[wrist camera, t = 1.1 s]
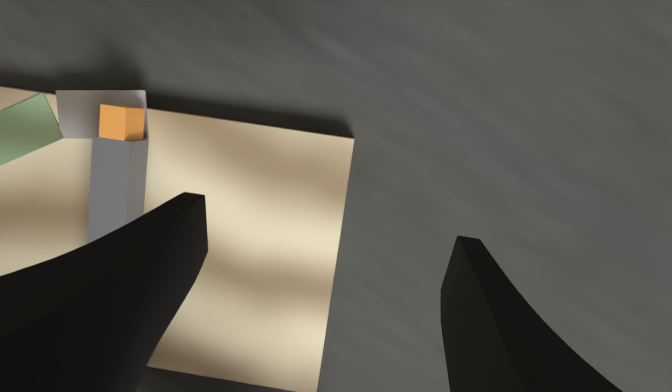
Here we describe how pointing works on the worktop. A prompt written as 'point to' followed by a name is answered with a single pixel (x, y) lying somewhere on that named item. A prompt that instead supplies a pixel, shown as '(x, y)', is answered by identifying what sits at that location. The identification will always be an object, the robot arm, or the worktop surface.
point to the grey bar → (117, 170)
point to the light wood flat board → (222, 224)
